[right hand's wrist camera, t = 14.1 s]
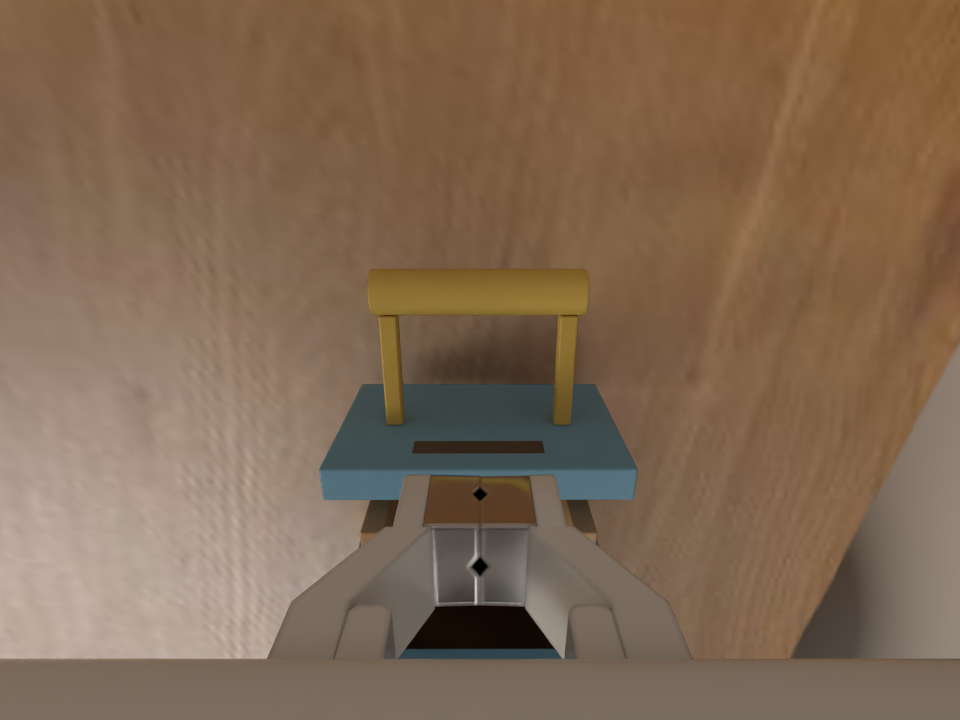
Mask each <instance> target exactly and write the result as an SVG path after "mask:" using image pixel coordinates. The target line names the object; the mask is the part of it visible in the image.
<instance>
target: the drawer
mask: <svg viewBox="0 0 960 720" xmlns="http://www.w3.org/2000/svg"><path fill="white" fill-rule="evenodd" d="M367 295H368V304H369V309H370V312H371V313H372V314H373V315H380V316H379V331H380V344H381V357H382V370H383V383H384V384H363V385H362V386H361V388H360V390H359V392H358V394H357V396H356V398H355V400H354V402H353V404H352V406H351V408H350V410H349V412H348V414H347V416H346V418H345V420H344V422H343V424H342V426H341V427H340V429H339V431H338V433H337V435H336V437H335V439H334V441H333V443H332V445H331V447H330V449H329V451H328V453H327V455H326V457H325V459H324V461H323V463H322V465H321V467H320V469H319V473H320V480H321V488H322V495H323V499H324V500H370V503H369V506H368V509H367V513H366V516H365V519H364V522H363V525H362V528H361V532H360V538H361V546H362V545H363V544H365V543H366V542H367V541H368V540H370V539H371V538H372V537H373V536H375V535H376V534H377V533H378V532H380V531H381V530H382V529H383V528H385V527H393V524H394V520H395V515H396V511H397V507H398V503H399V499H400V494H401V490H402V486H403V482H404V478H405V477H406V475H431V476H432V475H472V476H529V475H545V474H553V475H554V476H555V478H556V482H557V486H558V491H559V495H560V499H561V503H562V507H563V511H564V516H565V520H566V524H567V527H575V528H577V529H578V530H579V531H580V532H582V533H583V534H584V535H585V536H587V537H588V538H589V539H590V540H592V541H593V542H594V543H595V544H596V539H597V531H596V528H595V524H594V521H593V518H592V515H591V512H590V508H589V505H588V502H587V500H615V499H633V498H634V493H635V486H636V478H637V471H638V469H637V467H636V465H635V463H634V461H633V459H632V457H631V455H630V453H629V451H628V449H627V447H626V445H625V443H624V441H623V439H622V437H621V435H620V433H619V431H618V429H617V427H616V425H615V423H614V421H613V419H612V417H611V415H610V413H609V411H608V409H607V407H606V405H605V403H604V401H603V399H602V397H601V395H600V393H599V391H598V389H597V387H596V385H594V384H573V382H574V368H575V355H576V341H577V327H578V316H577V315H584V314H585V313H586V310H587V307H588V301H589V278H588V274H587V271H586V270H585V269H372V270H370V272H369V276H368V283H367ZM398 315H558V328H557V345H556V363H555V380H554V384H403V381H402V365H401V349H400V333H399V317H398ZM405 649H555V648H554V647H553V645H552V644H551V643H550V641H549V640H548V639H547V637H546V636H545V635H544V633H543V632H542V631H541V629H540V628H539V626H538V625H537V624H536V622H535V621H534V620H533V618H532V617H531V616H530V614H529V613H528V612H527V610H526V609H525V606H492V605H467V606H435V609H434V611H433V612H432V614H431V615H430V616H429V618H428V619H427V620H426V622H425V623H424V624H423V626H422V627H421V628H420V630H419V631H418V632H417V634H416V635H415V636H414V638H413V639H412V640H411V642H410V643H409V644H408V646H407V647H406V648H405Z"/></svg>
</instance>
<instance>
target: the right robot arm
mask: <svg viewBox="0 0 960 720" xmlns="http://www.w3.org/2000/svg"><path fill="white" fill-rule="evenodd" d="M467 605H492V606H525V609H526V610H527V612H528V613H529V614H530V616H531V617H532V618H533V620H534V621H535V622H536V624H537V625H538V626H539V628H540V629H541V631H542V632H543V633H544V635H545V636H546V637H547V639H548V640H549V641H550V643H551V644H552V645H553V647H554V648H555V650H556V651H557V652H558V654H559V655H560V656H561V658H562V659H398V658H399V657H400V655H401V654H402V653H403V651H404V650H405V648H406V647H407V646H408V644H409V643H410V642H411V640H412V639H413V638H414V636H415V635H416V634H417V632H418V631H419V630H420V628H421V627H422V626H423V624H424V623H425V622H426V620H427V619H428V618H429V616H430V615H431V614H432V612H433V611H434V609H435V606H467ZM0 720H960V659H693V658H692V655H691V653H690V651H689V648H688V646H687V644H686V641H685V639H684V636H683V634H682V632H681V629H680V627H679V625H678V622H677V620H676V617H675V615H674V613H673V610H672V608H671V606H670V603H669V602H668V601H667V600H665V599H664V598H663V597H662V596H660V595H659V594H658V593H657V592H655V591H654V590H653V589H652V588H650V587H649V586H648V585H647V584H645V583H644V582H643V581H642V580H640V579H639V578H638V577H637V576H635V575H634V574H633V573H632V572H630V571H629V570H628V569H627V568H625V567H624V566H623V565H622V564H620V563H619V562H618V561H617V560H615V559H614V558H613V557H612V556H610V555H609V554H608V553H607V552H605V551H604V550H603V549H602V548H600V547H599V546H598V545H597V544H595V543H594V542H593V541H592V540H590V539H589V538H588V537H587V536H585V535H584V534H583V533H582V532H580V531H579V530H578V529H577V528H575V527H567V524H566V520H565V516H564V511H563V507H562V503H561V499H560V495H559V491H558V486H557V482H556V478H555V476H554V475H553V474H545V475H529V476H472V475H432V476H431V475H406V477H405V478H404V482H403V486H402V490H401V494H400V499H399V503H398V507H397V511H396V515H395V520H394V524H393V527H385V528H383V529H382V530H381V531H380V532H378V533H377V534H376V535H375V536H373V537H372V538H371V539H370V540H368V541H367V542H366V543H365V544H363V545H362V546H361V547H359V548H358V549H357V550H356V551H354V552H353V553H352V554H351V555H349V556H348V557H347V558H346V559H344V560H343V561H342V562H341V563H339V564H338V565H337V566H336V567H334V568H333V569H332V570H331V571H329V572H328V573H327V574H326V575H324V576H323V577H322V578H321V579H319V580H318V581H317V582H316V583H314V584H313V585H312V586H311V587H309V588H308V589H307V590H306V591H304V592H303V593H302V594H301V595H299V596H298V597H297V598H296V599H294V600H293V601H292V602H291V604H290V606H289V609H288V611H287V613H286V616H285V618H284V620H283V623H282V625H281V627H280V630H279V632H278V634H277V637H276V639H275V641H274V644H273V646H272V648H271V651H270V653H269V655H268V658H267V659H0Z"/></svg>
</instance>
